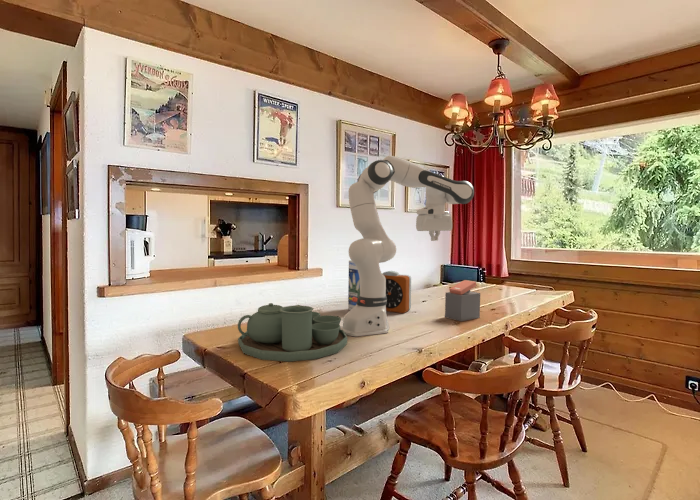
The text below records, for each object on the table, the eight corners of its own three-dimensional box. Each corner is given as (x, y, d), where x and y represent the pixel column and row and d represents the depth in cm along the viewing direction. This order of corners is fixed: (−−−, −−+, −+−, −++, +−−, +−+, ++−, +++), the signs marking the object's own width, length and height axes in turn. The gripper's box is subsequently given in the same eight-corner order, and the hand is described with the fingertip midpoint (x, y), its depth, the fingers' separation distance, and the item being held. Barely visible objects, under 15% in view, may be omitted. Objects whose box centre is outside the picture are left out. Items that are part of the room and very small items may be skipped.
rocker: (462, 297, 191) (460, 290, 190) (450, 295, 197) (449, 288, 196) (477, 288, 197) (475, 281, 196) (465, 286, 202) (464, 279, 202)
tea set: (368, 345, 154) (368, 301, 152) (279, 372, 126) (279, 319, 125) (302, 325, 182) (302, 288, 181) (218, 344, 154) (217, 300, 153)
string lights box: (347, 309, 213) (347, 260, 212) (358, 307, 218) (358, 259, 217) (365, 314, 204) (365, 262, 202) (376, 311, 209) (376, 261, 207)
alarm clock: (371, 309, 213) (372, 270, 212) (378, 306, 221) (378, 269, 220) (405, 313, 205) (406, 272, 203) (411, 310, 212) (411, 271, 211)
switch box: (461, 321, 189) (461, 295, 189) (445, 317, 198) (445, 292, 197) (479, 317, 197) (480, 293, 196) (463, 313, 205) (464, 290, 204)
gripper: (445, 211, 198) (445, 239, 199) (414, 210, 187) (413, 240, 188) (455, 211, 193) (455, 240, 194) (423, 210, 182) (423, 241, 183)
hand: (434, 240), depth 191 cm, fingers closed
